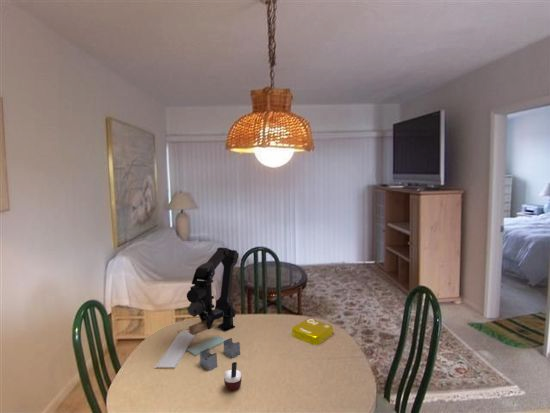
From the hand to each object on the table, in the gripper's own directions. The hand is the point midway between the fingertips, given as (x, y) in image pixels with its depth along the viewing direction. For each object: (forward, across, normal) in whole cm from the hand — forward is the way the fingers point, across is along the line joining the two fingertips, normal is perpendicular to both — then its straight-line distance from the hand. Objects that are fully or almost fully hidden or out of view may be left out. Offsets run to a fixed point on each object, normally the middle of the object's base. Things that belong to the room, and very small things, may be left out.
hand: (206, 328), depth 152 cm
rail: (0, 0, 0) cm, 0 cm away
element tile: (+9, +29, +40) cm, 50 cm away
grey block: (+8, +14, +3) cm, 17 cm away
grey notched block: (+8, +14, -9) cm, 19 cm away
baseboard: (+9, -8, -11) cm, 17 cm away
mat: (+8, 0, 0) cm, 8 cm away
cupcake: (+8, +32, -11) cm, 35 cm away
